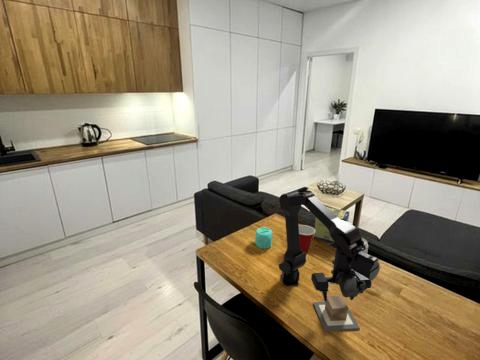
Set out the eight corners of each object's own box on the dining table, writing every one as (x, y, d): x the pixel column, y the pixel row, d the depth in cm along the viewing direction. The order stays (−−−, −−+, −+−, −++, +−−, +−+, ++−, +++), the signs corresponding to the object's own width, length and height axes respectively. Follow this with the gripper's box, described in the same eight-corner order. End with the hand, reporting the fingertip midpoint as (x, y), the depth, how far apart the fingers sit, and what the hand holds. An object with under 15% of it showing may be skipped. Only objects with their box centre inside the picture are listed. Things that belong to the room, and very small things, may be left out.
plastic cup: (316, 247, 133) (318, 226, 129) (309, 258, 124) (311, 236, 121) (296, 241, 139) (297, 221, 135) (288, 251, 130) (289, 230, 126)
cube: (330, 321, 90) (332, 308, 88) (324, 308, 95) (326, 296, 93) (346, 320, 90) (348, 307, 88) (339, 307, 95) (341, 295, 94)
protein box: (318, 230, 150) (320, 205, 145) (346, 237, 142) (350, 211, 137) (313, 238, 141) (315, 212, 136) (343, 246, 134) (346, 219, 129)
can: (366, 268, 117) (370, 245, 113) (349, 266, 119) (352, 244, 115) (362, 258, 124) (366, 236, 120) (346, 256, 125) (349, 235, 122)
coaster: (324, 331, 87) (324, 329, 87) (313, 303, 98) (313, 302, 98) (359, 329, 87) (359, 327, 87) (344, 301, 99) (344, 300, 99)
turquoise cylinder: (255, 247, 133) (255, 234, 131) (257, 239, 141) (257, 226, 138) (270, 249, 132) (271, 235, 129) (272, 241, 139) (272, 228, 137)
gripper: (324, 280, 77) (319, 320, 82) (385, 277, 78) (376, 317, 83) (312, 257, 88) (308, 294, 93) (366, 255, 89) (359, 292, 94)
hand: (337, 300), depth 90 cm, fingers open, 9 cm apart
